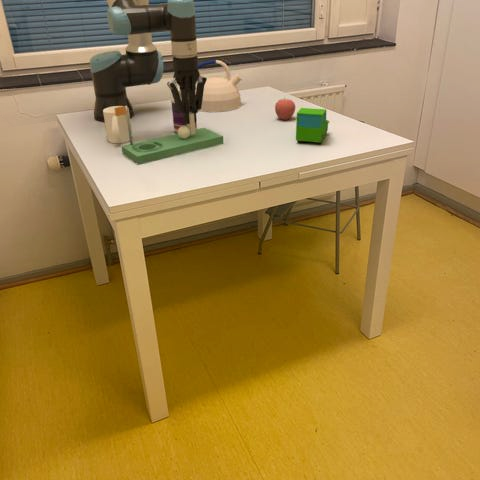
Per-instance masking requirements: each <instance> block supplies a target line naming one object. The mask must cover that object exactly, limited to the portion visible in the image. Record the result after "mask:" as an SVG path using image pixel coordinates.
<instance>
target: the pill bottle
mask: <svg viewBox="0 0 480 480" xmlns="http://www.w3.org/2000/svg"><path fill="white" fill-rule="evenodd" d="M177 89H178V92H179V95H180V98H181V91H180V87H177ZM188 98H189V97H188ZM170 101H171V110H172V122H173V129H174V131H175V132H176V133H178V129H179V128H180V127H181V126H186V127H187V124H185V122H184V114H183V113H181V112H178V111H177V108H176V105H175V101H174V98H173V96H172V98H171V100H170ZM181 101H182V100H181ZM189 110H190V109H189ZM197 124H198V123H197V121H196V122H195V129H198V126H197Z"/></svg>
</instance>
